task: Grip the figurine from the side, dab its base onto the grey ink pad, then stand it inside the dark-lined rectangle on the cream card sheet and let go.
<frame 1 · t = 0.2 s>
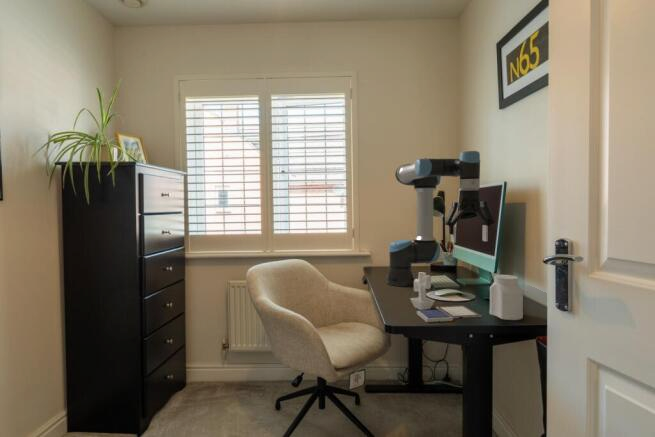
hand: (469, 241, 146), 27 cm above the table, tool pointing down, fingers open, 13 cm apart
card sheet: (457, 311, 143), on the table
ink pad: (434, 317, 136), on the table
figurine: (422, 308, 148), on the table
jar: (505, 315, 138), on the table
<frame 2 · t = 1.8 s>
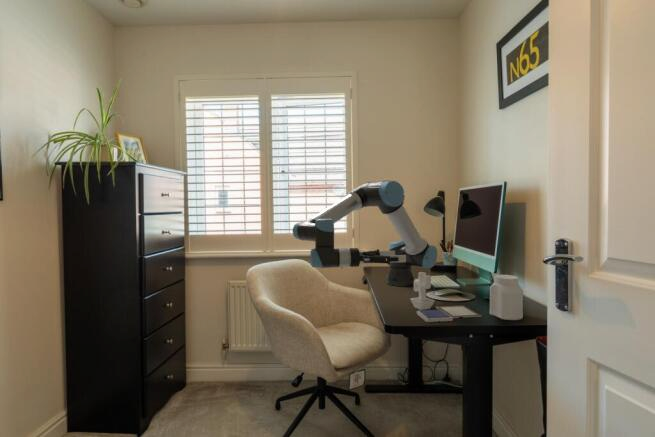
hand: (400, 256, 146), 22 cm above the table, tool horizontal, fingers open, 13 cm apart
nothing on the table moved.
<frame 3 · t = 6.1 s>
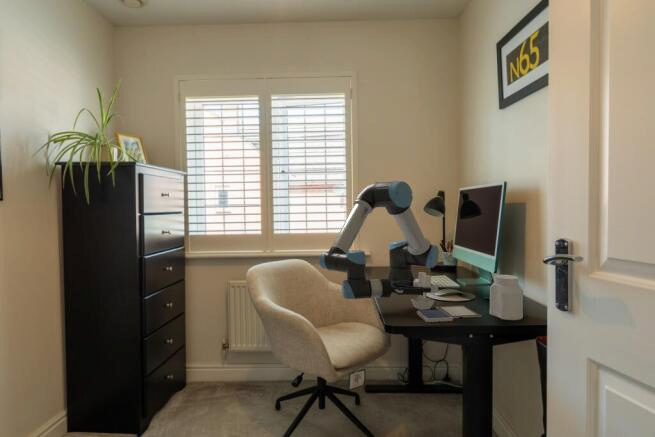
hand: (432, 286, 148), 9 cm above the table, tool horizontal, fingers closed on figurine, 9 cm apart
figurine: (422, 308, 148), on the table, touching gripper
everything else where it was.
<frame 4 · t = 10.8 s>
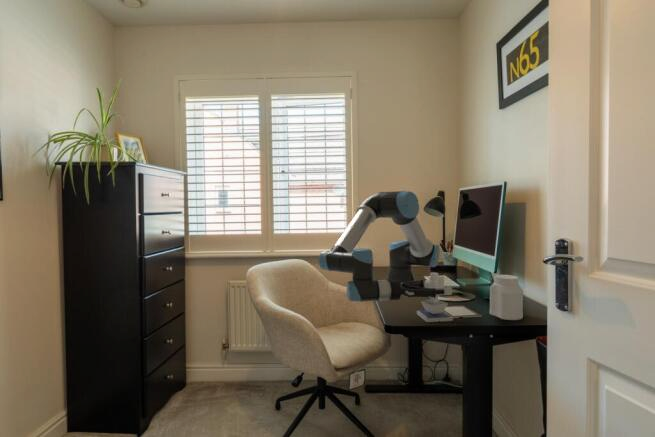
hand: (445, 287, 136), 11 cm above the table, tool horizontal, fingers closed on figurine, 9 cm apart
figurine: (434, 312, 136), point 2 cm above the table, touching gripper
everything else where it was.
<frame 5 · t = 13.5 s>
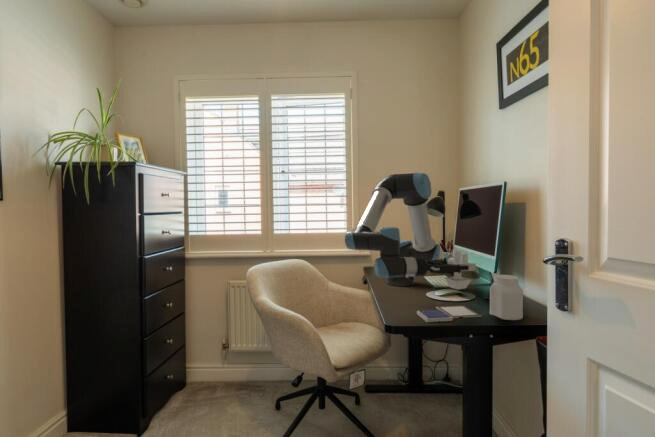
hand: (468, 264, 142), 19 cm above the table, tool horizontal, fingers closed on figurine, 9 cm apart
figurine: (457, 288, 142), point 10 cm above the table, touching gripper
everything else where it was.
when the fingers open (11 cm above the table, at t = 15.6 s): figurine drops 2 cm, resting on card sheet.
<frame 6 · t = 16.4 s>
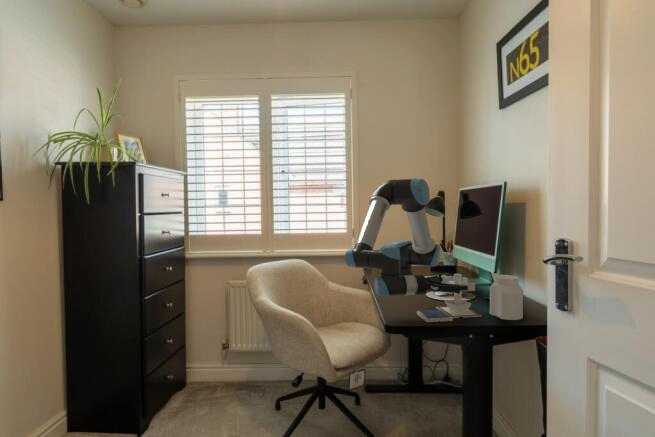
hand: (465, 282, 142), 12 cm above the table, tool horizontal, fingers open, 13 cm apart
figurine: (458, 311, 142), resting on card sheet
everything else where it was.
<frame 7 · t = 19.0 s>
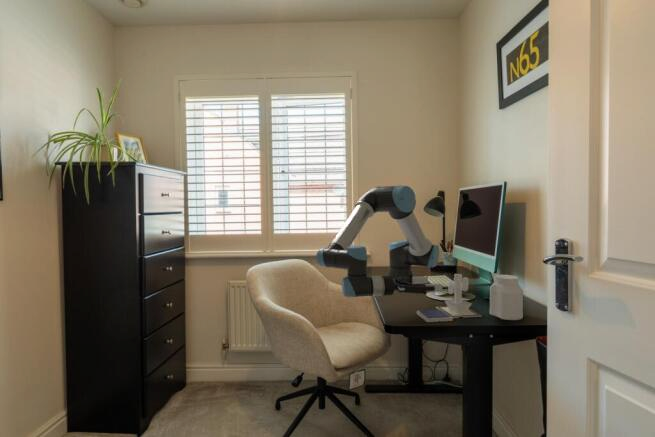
hand: (434, 283, 141), 12 cm above the table, tool horizontal, fingers open, 13 cm apart
nothing on the table moved.
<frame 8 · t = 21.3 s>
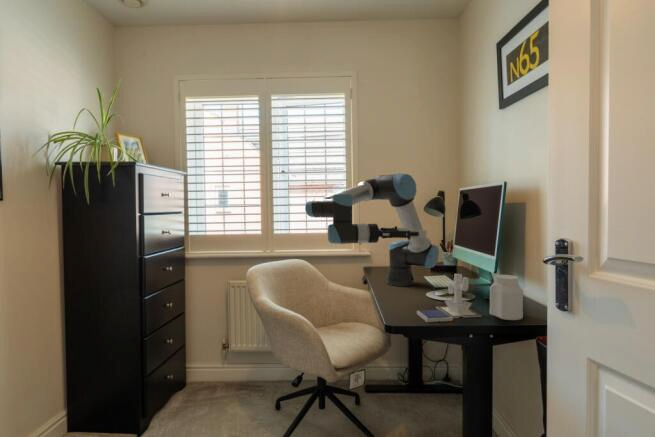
hand: (419, 232, 142), 32 cm above the table, tool horizontal, fingers open, 13 cm apart
nothing on the table moved.
at the end: figurine inside the target area on the card sheet (0.4 cm from its centre), point 0.1 cm above the card sheet's base; figurine tilted 0°; the gripper is holding nothing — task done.
